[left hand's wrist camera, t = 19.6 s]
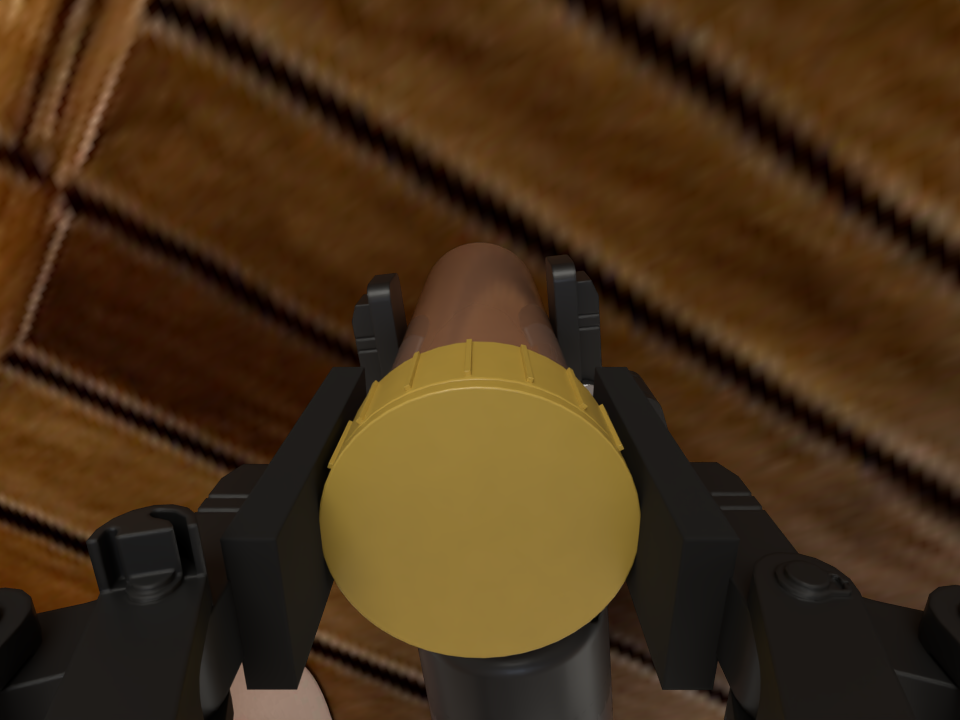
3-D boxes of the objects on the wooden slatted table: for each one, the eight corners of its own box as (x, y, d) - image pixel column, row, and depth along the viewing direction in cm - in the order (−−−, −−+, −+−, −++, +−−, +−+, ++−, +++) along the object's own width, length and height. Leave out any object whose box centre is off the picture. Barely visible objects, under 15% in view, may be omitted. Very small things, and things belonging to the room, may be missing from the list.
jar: (448, 366, 27) (407, 647, 12) (406, 265, 25) (298, 442, 10) (551, 330, 26) (645, 578, 11) (514, 225, 25) (568, 350, 10)
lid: (603, 315, 11) (633, 356, 9) (626, 558, 13) (656, 641, 11) (314, 360, 12) (275, 411, 9) (378, 591, 13) (358, 678, 11)
